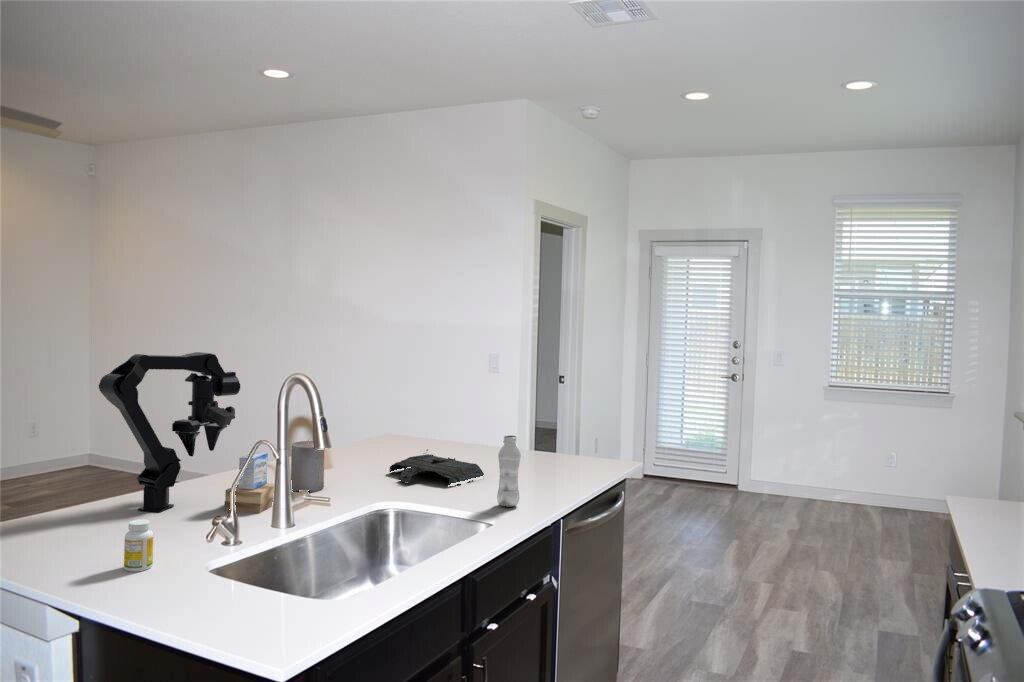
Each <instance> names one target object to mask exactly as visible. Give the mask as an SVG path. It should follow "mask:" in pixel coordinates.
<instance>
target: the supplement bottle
mask: <svg viewBox="0 0 1024 682" xmlns="http://www.w3.org/2000/svg"><path fill="white" fill-rule="evenodd" d="M150 528H151V521H150V520H149V519H134V520H131V521H129V522H128V530H129V531H128V532H126V533H125V535H124V548H123V550H124V551H123V553H124V554H123V556H124V558H123V569H124V570H125V571H126V572H131V573H133V572H134V573H137V572H142V571H147V570H149V569H151V568H152V567H153V565H154V564H153V561H154V559H153V558H154V533H153V531H152V530H150Z"/></svg>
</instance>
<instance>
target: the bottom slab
mask: <svg viewBox="0 0 1024 682" xmlns="http://www.w3.org/2000/svg"><path fill="white" fill-rule="evenodd" d="M272 502H273V498H271V499H269V500H267V501H265V502H263V503H261V504H256V503H243V502H235V505H236V511H237V512H239V513H249V514H262V513H263V512H265V511H266V510H269V509H270V508H273V506H272ZM223 506H224V508H223V509H224V510H223V511H224V512H225V511H226V512H229V511H228V510H229V509H230V501H225V500H224V505H223ZM237 512H236V513H237Z"/></svg>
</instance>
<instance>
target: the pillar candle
mask: <svg viewBox="0 0 1024 682" xmlns="http://www.w3.org/2000/svg"><path fill="white" fill-rule="evenodd" d="M313 441H314V440H310V439H308V440H304V441H303V440H300V441H294V442H292V443H291V451H290V452H291V454H290V455H291V456H290V461H291V462H290V463H291V464H290V481H291V480H292V489H293V492H296V491H299V490H309V491H310V492H309V493H315V492H316V493H317V492H319V491H322V490H323V489H324V487H325V485H324V484H325V449H324V450H316V451H315V450H314V444H313Z"/></svg>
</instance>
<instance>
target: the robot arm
mask: <svg viewBox="0 0 1024 682" xmlns="http://www.w3.org/2000/svg"><path fill="white" fill-rule="evenodd" d="M219 362H220V361H219V359H218V357H217V355H216V354H215V353H210V352H203V351H202V352H200V351H198V352H197V351H196V352H191V353H186V354H182V355H155V354H141V353H136V354H135V353H134V354H133V355H131V357H130V358H128V359H127V360H126V361H125V362H123V363H121V364H120V365H118V366H116V367H115V368H114V369H113V370H111V371H110V372H109V373H107V374H105V375H104V376H102V377H101V379H100V381H99V383H98V389H99V392H100V393H101V394H102V396H103V397H105V399H106V400H107V401H108V402H109V403H111V405H113V406H114V407H115V408H116V409H117V410H118V411H119V413H121V416H122V417H123V419H124V421H125V423H126V424H127V426H128V428H129V430H130V431H131V433H132V435H133V436H134V439H135V440H136V442H137V443H138V445H139V446H140V448H141V451H142V452H143V464H144V466H145V467H144V469H143V470H142V471H141V472H140V474H139V475H138V476H137V477H136V480H137V482H138V485H141V486H144V487H143V499H142V500H143V503H142V504H143V506H141V507H139V508H137V511H140V512H141V511H142V512H155V513H162V512H164V511H166V510H169V509H171V508H173V507H174V506H175V504H173V503H170V488H172V487H173V488H174V486H175V483H176V481H177V478H178V476H179V474H180V470H182V468H181V467H182V466H181V463H180V462H181V461H182V459H180V458H179V457H178V455H177V453H176V450H175V449H174V448H171V447H165V446H163V445H162V442H161V440H160V439H159V438H158V436H157V434H156V432H155V430H154V428H153V426H152V425H151V423H150V421H149V419H148V418H147V416H146V414H145V412H144V410H143V409H142V407H141V405H140V403H139V391H138V388H137V387H138V385H139V384H140V383H142V381H143V380H144V377H145V375H146V373H147V372H148V371H150V370H169V371H170V370H177V371H178V370H182V371H188V372H191V373H190V374H189V376H187V377H185V379H184V382H188V383H192V385H191V400H189V401H188V406H191V415H189V416H187V418H186V419H184V418H183V419H178V420H174V422H172V424H171V431H172V432H174V433H175V435H177V436H178V437H179V439H180V440H181V442H182V444H183V446H184V449H185V450H186V452H187V454H188V456H189V457H194V454H195V447H196V441H197V440H196V439H197V437H198V436H199V435H200V433H201V431H199V430H200V429H201V427H204V431H205V437H206V442H207V446H208V450H209V451H210V452H212V451H213V452H214V450H215V448H216V444H217V442H218V439H219V436H220V435H221V432H222V431H224V429H225V428H227V427H228V426H231V423H232V420H235V419H236V409H235V407H233V406H231V405H230V406H227V407H225V408H224V407H219V402H218V400H215V396H216V397H229V396H236V395H237V394H239V392H240V390H241V383H240V380H239V378H238V377H237V375H236V374H237V372H236V371H226V372H225V370H224V369H223V367H222V365H221V364H220V363H219ZM197 373H198V374H201V375H198V374H197ZM210 377H211V378H210Z"/></svg>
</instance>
